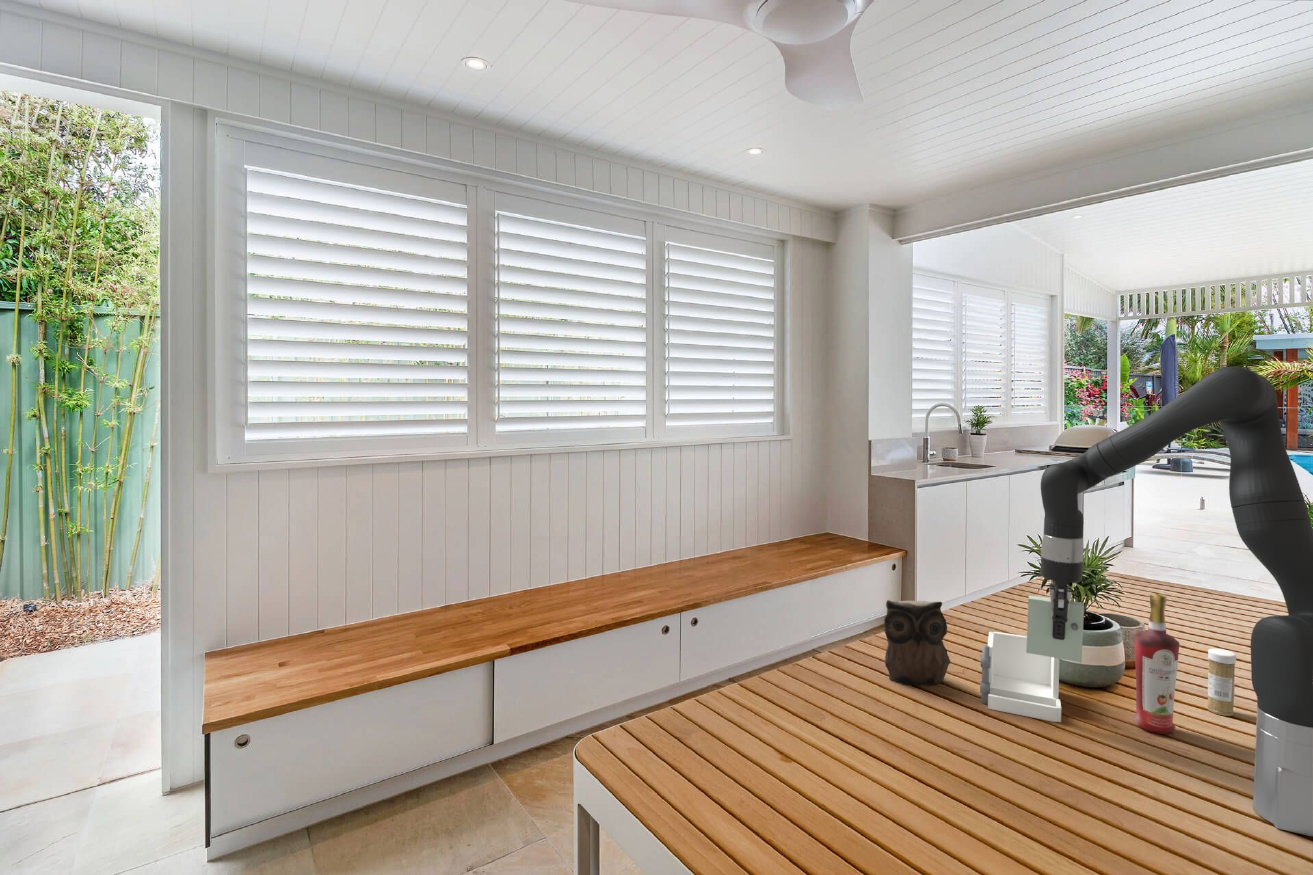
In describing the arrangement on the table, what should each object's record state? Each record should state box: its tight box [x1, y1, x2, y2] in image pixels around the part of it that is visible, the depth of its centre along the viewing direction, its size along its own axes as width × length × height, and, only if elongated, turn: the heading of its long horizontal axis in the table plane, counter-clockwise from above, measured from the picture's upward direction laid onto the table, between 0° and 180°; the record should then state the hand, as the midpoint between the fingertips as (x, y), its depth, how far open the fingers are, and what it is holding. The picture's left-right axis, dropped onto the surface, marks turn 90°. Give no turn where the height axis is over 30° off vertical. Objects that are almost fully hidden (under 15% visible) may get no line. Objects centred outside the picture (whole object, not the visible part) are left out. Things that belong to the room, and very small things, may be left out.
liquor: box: [1133, 593, 1180, 735], centre depth 133 cm, size 7×7×28 cm
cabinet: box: [979, 630, 1062, 723], centre depth 148 cm, size 18×16×13 cm
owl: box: [883, 599, 951, 687], centre depth 158 cm, size 13×13×20 cm
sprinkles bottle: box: [1206, 648, 1237, 717], centre depth 141 cm, size 5×5×14 cm
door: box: [1026, 594, 1085, 663], centre depth 137 cm, size 4×10×12 cm, turn 60°
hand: (1058, 635), depth 138 cm, fingers closed on door, 2 cm apart
